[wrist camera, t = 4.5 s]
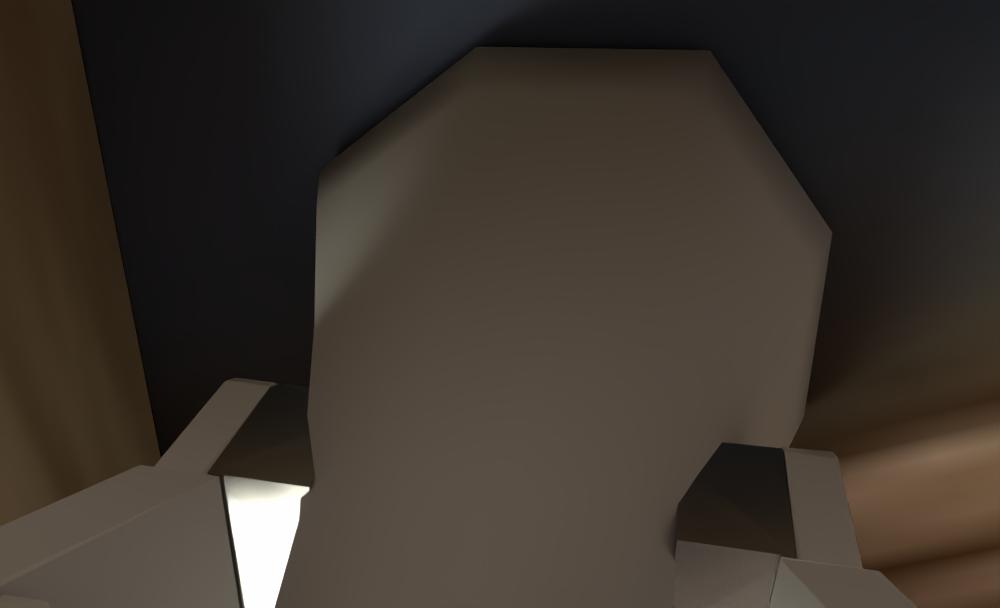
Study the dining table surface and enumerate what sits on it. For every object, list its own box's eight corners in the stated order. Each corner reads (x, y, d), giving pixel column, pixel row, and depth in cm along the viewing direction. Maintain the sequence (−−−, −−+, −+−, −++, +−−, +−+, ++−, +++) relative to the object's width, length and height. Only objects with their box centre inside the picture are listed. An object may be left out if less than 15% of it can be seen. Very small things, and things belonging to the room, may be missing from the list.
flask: (768, -55, 11) (1062, 544, 2) (878, 444, 14) (1195, 1581, 5) (244, 121, 13) (-662, 753, 4) (432, 516, 16) (111, 1375, 7)
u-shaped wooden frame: (1204, -231, 9) (1853, -273, 4) (903, 669, 15) (1007, 1107, 10) (-52, -250, 11) (-683, -294, 6) (131, 547, 18) (-107, 858, 12)
